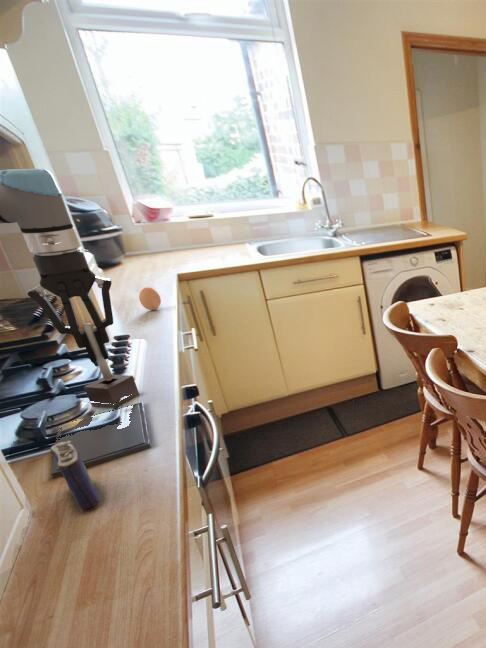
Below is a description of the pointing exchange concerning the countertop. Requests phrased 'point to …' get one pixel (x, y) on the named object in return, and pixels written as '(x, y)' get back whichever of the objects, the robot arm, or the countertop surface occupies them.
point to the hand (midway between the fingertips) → (100, 358)
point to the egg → (149, 298)
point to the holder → (112, 391)
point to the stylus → (97, 352)
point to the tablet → (108, 440)
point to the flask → (76, 475)
